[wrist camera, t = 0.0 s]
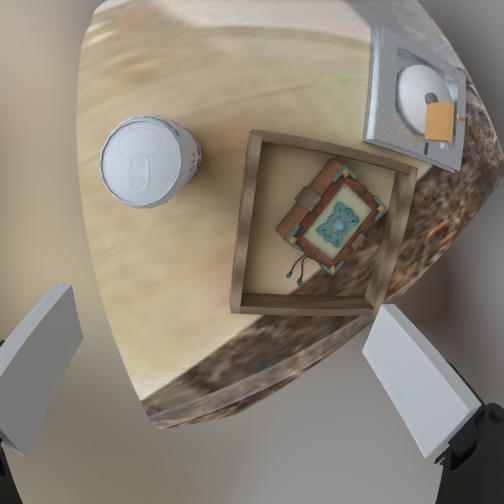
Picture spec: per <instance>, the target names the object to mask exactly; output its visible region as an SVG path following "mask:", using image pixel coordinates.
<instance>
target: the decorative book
mask: <svg viewBox="0 0 504 504" xmlns="http://www.w3.org/2000/svg"><path fill="white" fill-rule="evenodd" d="M356 178H357V177H356V176H355V175H354V174H353V173H352V172H351V171H350V170H349V169H348V168H347V167H346V166H345V165H342V164H340V163H338V162H337V161H335V160H333V159H330V160H329V161H328V162H327V164H326V165H325V166H324V167H323V169H322V170H321V171H320V173H319V174H318V175H317V176H316V178H315V179H314V180H313V182H312V183H311V184H310V185H309V187H308V188H307V187H305V186H304V188H303V189H302V190H301V192H300V193H299V194H298V195H297V197H296V198H295V200H296V201H297V202H296V203H295V205H294V206H293V207H292V209H291V210H290V211H289V212H288V214H287V215H286V216H285V218H284V219H283V220H282V221H281V223H280V224H279V225H278V226H277V228H276V231H277V232H278V233H279V234H280V235H281V236H283V237H284V240H285V241H286V242H288V243H289V244H290V245H292V246H293V247H295V248H296V249H297V250H299V251H300V250H301V251H303V252H304V253H305V254H304V255H303V256H305V255H306V254H307V256H306V257H308V258H310V259H314V260H315V261H316V262H318V264H319V265H320V267H322V268H323V269H324V270H326V271H327V272H328V273H330V274H331V275H334V274H335V272H336V271H337V270H338V269H339V268H340V266H341V265H342V264H343V263H344V262H343V260H344V259H345V258H346V257H347V255H348V254H349V253H350V252H351V250H352V249H353V248H354V249H355V250H357V249H358V248H359V247H360V246H362V245H363V241H364V240H365V239H366V237H365V236H364V234H365V233H366V231H367V230H368V229H369V227H370V226H371V225H372V224H373V222H374V221H377V220H378V218H379V217H380V216H381V214H382V213H383V212H384V210H385V209H386V207H385V205H384V204H383V203H382V202H381V201H380V200H379V199H378V198H377V197H376V196H374V195H372V194H371V193H370V192H369V191H368V190H367V187H365V186H364V185H362V184H361V183H360V182H359V181H358V180H357V179H356ZM303 256H302V257H303ZM302 257H301V258H302ZM306 257H305V258H306ZM301 258H300V259H301ZM305 258H304V259H305ZM300 259H299V260H300ZM304 259H303V261H304ZM299 260H297V261H296V262H295V264H296V263H297V262H298V261H299ZM303 261H302V265H303ZM295 264H294V266H295ZM294 266H293V267H292V270H293V268H294ZM301 268H302V266H301ZM292 270H291V271H290V272H289V273H288V274H287V275H286V277H287V278H290V277H291V275H292ZM302 275H303V268H302ZM302 275H301V277H299V278H300V280H299V279H298V281H297V284H298V285H299V286H300V285H302V284H303V282H302Z"/></svg>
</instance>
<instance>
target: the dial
mask: <svg viewBox="0 0 504 504" xmlns="http://www.w3.org/2000/svg"><path fill="white" fill-rule="evenodd" d="M396 99H397V103H398V107H399V109H400V112H401V114H402V116H403V118H404V119H405V121H406V122H407V124H408V125H409V126H410V127H411V128H412V129H413V130H414V131H416V132H417V133H419V134H421V135H423V136H425V139H427V140H429V141H436V142H447V143H452V133H453V120H454V104H453V101H452V97H451V94H450V91H449V89H448V87H447V85H446V84H445V82H444V81H443V79H442V78H441V77H440V76H439V75H438V74H437V73H436V72H435V71H434V70H432V69H431V68H429V67H427V66H424V65H414V66H410V67H407V68H405V69H404V70H402V72H401V73H400V74H399V76H398V78H397V81H396Z"/></svg>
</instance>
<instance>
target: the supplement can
mask: <svg viewBox="0 0 504 504" xmlns="http://www.w3.org/2000/svg"><path fill="white" fill-rule="evenodd" d="M201 158H202V154H201V147H200V144H199V142H198V141H197V139H196V137H195V136H194V135H193V134H192V133H191V132H190V131H188V130H187V129H185V128H184V127H182V126H180V125H179V124H177V123H175V122H173V121H172V120H170V119H168V118H165V117H162V116H158V115H155V114H144V115H136V116H134V117H132V118H129V119H127V120H125V121H123V122H121V123H120V124H119V125H118V126H117V127H116V128H115V129H114V130H113V131H112V132H111V133H110V135H109V137H108V138H107V140H106V142H105V144H104V146H103V148H102V150H101V156H100V163H99V167H100V173H101V178H102V181H103V183H104V184H105V186H106V188H107V190H108V192H110V194H112V195H113V196H114V197H115V198H116V199H117V200H119V201H120V202H121V203H122V204H125V205H128V206H131V207H133V208H136V209H139V208H154V207H156V206H159V205H162V204H164V203H167V202H168V201H169V200H170V199H171V198H172V197H174V196H175V195H176V194H177V193H178V192H179V191H180V190H181V189H182V188H183V187H184V186H185V185H186V184H187V183H188V182H189V181H190V180H191V179H192V178H193V177H194V175H195V174H196V172H197V171H198V169H199V167H200V163H201Z"/></svg>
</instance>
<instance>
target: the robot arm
mask: <svg viewBox="0 0 504 504" xmlns="http://www.w3.org/2000/svg"><path fill="white" fill-rule="evenodd" d="M82 340H83V334H82V331H81V327H80V323H79V318H78V314H77V310H76V305H75V300H74V295H73V290H72V285H71V284H65V283H59V282H57V283H56V284H55V285H54V286H53V287H52V288H51V289H50V290H49V291H48V292H47V293H46V295H44V297H43V298H42V299H41V300H40V301H39V302H38V303H37V304H36V305H35V306H34V307H33V309H32V310H31V311H30V312H29V313H28V314H27V315H26V317H25V318H24V319H23V320H22V321H21V322H20V324H19V325H18V326H17V327H16V328H15V330H14V331H13V332H12V333H11V334H10V336H9V337H8V338H7V340H6V341H4V340H2V341H1V342H0V504H23V503H22V500H21V498H20V496H19V493H18V491H17V488H16V486H15V483H14V481H13V478H12V475H11V472H10V469H9V466H8V463H7V460H6V456H5V453H4V451H3V448H2V447H1V442H2V440H3V441H4V442H5V444H6V445H7V446H8V447H9V448H10V449H11V450H13V451H15V452H17V453H18V454H21V455H22V456H24V457H26V458H28V456H29V453H30V450H31V447H32V445H33V442H34V439H35V437H36V434H37V432H38V429H39V427H40V425H41V422H42V420H43V417H44V415H45V413H46V410H47V408H48V406H49V404H50V402H51V400H52V397H53V395H54V393H55V391H56V389H57V387H58V385H59V383H60V381H61V378H62V377H63V375H64V373H65V371H66V369H67V367H68V365H69V363H70V361H71V360H72V358H73V356H74V354H75V352H76V350H77V348H78V347H79V345H80V343H81V341H82ZM362 353H363V354H364V356H365V357H366V359H367V361H368V362H369V364H370V365H371V367H372V369H373V370H374V372H375V373H376V375H377V377H378V378H379V380H380V382H381V383H382V385H383V386H384V388H385V390H386V391H387V393H388V395H389V396H390V398H391V400H392V401H393V403H394V405H395V407H396V408H397V410H398V412H399V413H400V415H401V417H402V418H403V420H404V422H405V424H406V425H407V427H408V429H409V430H410V432H411V434H412V435H413V437H414V439H415V441H416V443H417V445H418V447H419V448H420V450H421V452H422V454H423V455H424V457H425V458H426V457H428V456H430V455H432V454H434V453H436V452H438V451H439V450H440V449H441V448H442V447H443V446H444V445H445V444H446V443H447V442H448V443H449V445H450V446H449V447H448V448H447V449H446V450H445V451H444V452H443V453H442V454H441V455H440V456H439V457H438V458H437V459H436V460H435V464H436V463H438V462H439V461H440V460H441V459H442V458H444V457H445V459H443V460H442V462H440V465H444V466H443V472H442V477H441V482H440V487H439V491H438V495H437V500H436V503H435V504H504V409H503V408H502V407H501V406H500V405H498V404H496V403H490V404H488V405H487V406H486V405H485V404H484V403H483V401H482V400H481V399H480V398H479V396H478V395H477V394H476V392H475V391H474V390H473V389H472V388H471V386H470V385H469V384H468V383H467V381H465V379H464V378H463V377H462V375H459V372H458V371H457V370H456V368H455V367H454V366H453V365H452V364H450V363H449V362H448V361H446V360H445V359H444V358H443V357H442V356H441V355H440V353H439V352H438V351H437V350H436V349H435V348H434V347H433V346H432V345H431V343H430V342H429V341H428V340H427V339H426V338H425V337H424V336H423V335H422V334H421V332H420V331H419V330H418V329H417V328H416V327H415V326H414V325H413V324H412V323H411V322H410V321H409V320H408V318H407V317H406V316H405V315H404V314H403V313H402V312H401V311H400V310H399V309H398V308H397V307H396V306H395V305H394V304H381V306H380V309H379V312H378V314H377V317H376V319H375V322H374V324H373V327H372V329H371V332H370V334H369V337H368V339H367V341H366V344H365V346H364V348H363V350H362Z"/></svg>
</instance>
